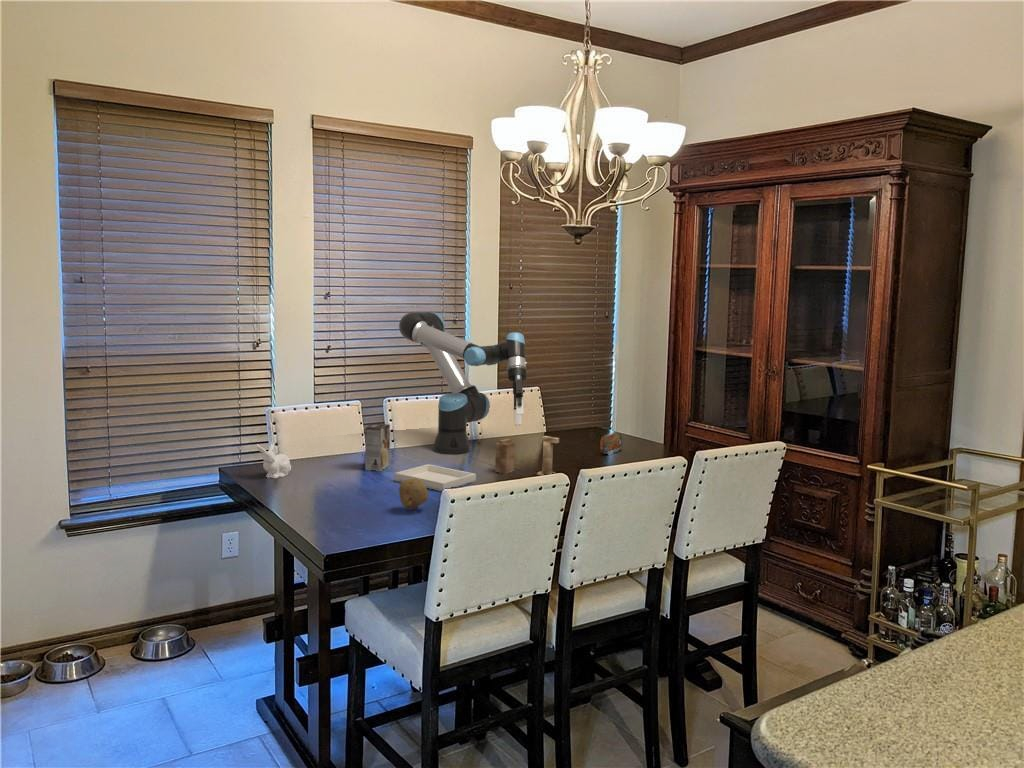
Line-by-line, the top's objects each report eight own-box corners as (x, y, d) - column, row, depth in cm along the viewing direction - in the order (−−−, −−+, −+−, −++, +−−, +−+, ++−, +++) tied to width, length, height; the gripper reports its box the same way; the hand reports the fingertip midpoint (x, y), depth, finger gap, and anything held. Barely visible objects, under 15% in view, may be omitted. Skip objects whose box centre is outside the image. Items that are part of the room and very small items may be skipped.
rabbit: (271, 480, 281) (271, 446, 280) (252, 476, 286) (252, 443, 284) (297, 474, 292) (297, 441, 290) (278, 470, 296) (277, 437, 295)
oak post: (533, 476, 300) (535, 437, 298) (544, 472, 306) (545, 434, 304) (551, 479, 296) (552, 439, 294) (561, 475, 302) (562, 437, 300)
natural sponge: (428, 506, 257) (429, 475, 256) (426, 514, 248) (427, 482, 247) (400, 505, 257) (400, 474, 255) (397, 513, 248) (397, 481, 246)
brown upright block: (495, 472, 304) (496, 440, 302) (502, 470, 308) (503, 438, 306) (506, 474, 301) (507, 442, 299) (513, 472, 305) (514, 440, 304)
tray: (394, 481, 286) (394, 472, 286) (428, 472, 301) (428, 464, 300) (443, 492, 274) (443, 483, 273) (475, 482, 288) (476, 473, 288)
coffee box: (373, 464, 309) (374, 423, 307) (389, 466, 308) (390, 424, 306) (364, 470, 300) (365, 427, 298) (381, 471, 299) (381, 428, 297)
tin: (604, 456, 337) (605, 436, 336) (597, 455, 339) (598, 435, 338) (622, 451, 349) (623, 432, 348) (616, 450, 351) (617, 431, 350)
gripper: (528, 357, 318) (530, 409, 311) (524, 380, 341) (526, 428, 334) (509, 358, 318) (511, 409, 310) (506, 380, 341) (508, 429, 334)
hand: (519, 419), depth 322 cm, fingers open, 13 cm apart
